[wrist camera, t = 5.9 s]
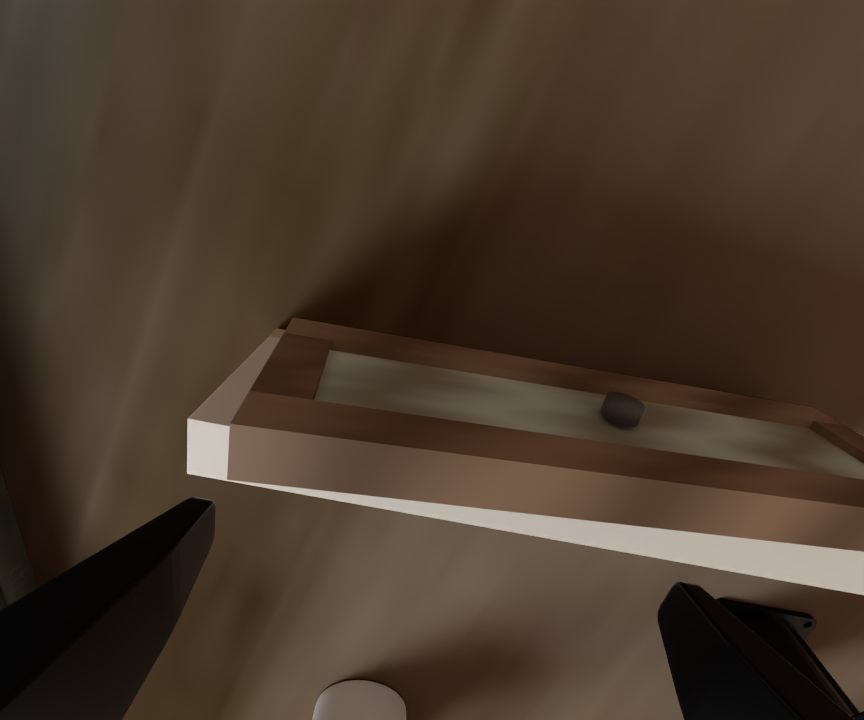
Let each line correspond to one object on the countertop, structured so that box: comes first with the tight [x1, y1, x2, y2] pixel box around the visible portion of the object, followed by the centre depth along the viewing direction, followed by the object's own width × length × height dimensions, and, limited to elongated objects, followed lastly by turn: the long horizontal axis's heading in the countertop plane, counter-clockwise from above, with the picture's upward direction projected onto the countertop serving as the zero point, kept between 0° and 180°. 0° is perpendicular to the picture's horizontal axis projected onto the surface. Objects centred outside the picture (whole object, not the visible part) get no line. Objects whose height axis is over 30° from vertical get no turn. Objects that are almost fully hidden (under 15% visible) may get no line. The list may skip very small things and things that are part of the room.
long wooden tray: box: [187, 328, 864, 595], centre depth 19 cm, size 26×6×8 cm, turn 78°
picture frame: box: [227, 318, 864, 552], centre depth 15 cm, size 22×2×7 cm, turn 78°
